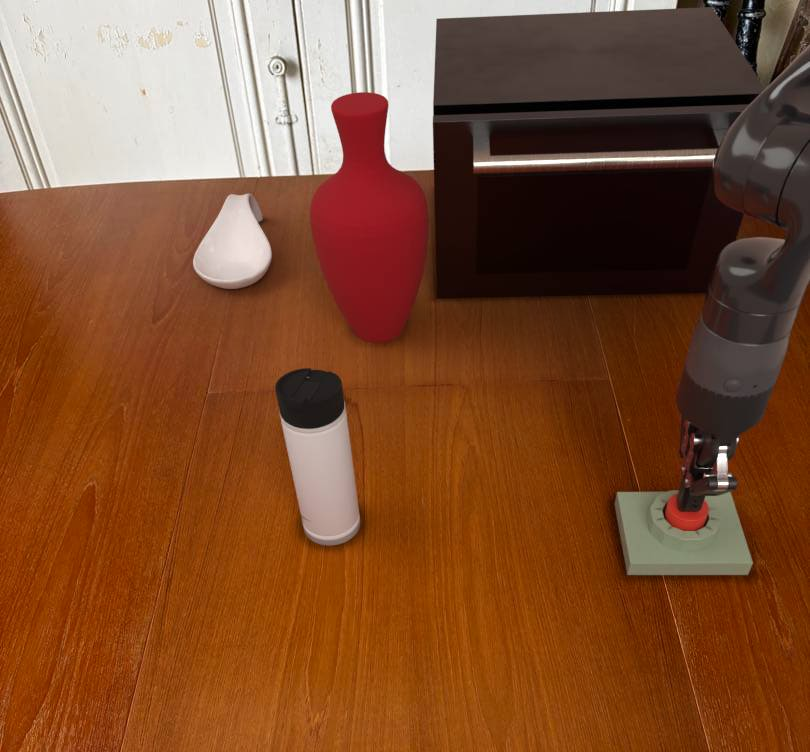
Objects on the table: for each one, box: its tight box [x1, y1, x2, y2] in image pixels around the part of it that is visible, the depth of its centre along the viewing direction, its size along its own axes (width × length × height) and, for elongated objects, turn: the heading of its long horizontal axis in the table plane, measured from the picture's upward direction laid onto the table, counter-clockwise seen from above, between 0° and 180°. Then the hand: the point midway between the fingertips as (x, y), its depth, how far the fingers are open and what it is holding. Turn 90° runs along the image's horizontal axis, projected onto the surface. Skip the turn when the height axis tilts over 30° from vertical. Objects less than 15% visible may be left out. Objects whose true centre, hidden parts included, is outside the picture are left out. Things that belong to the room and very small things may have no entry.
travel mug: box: [274, 367, 361, 547], centre depth 82 cm, size 6×7×20 cm
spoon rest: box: [192, 193, 273, 290], centre depth 125 cm, size 24×12×7 cm, turn 2°
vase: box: [309, 91, 430, 344], centre depth 102 cm, size 15×15×30 cm
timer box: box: [614, 489, 754, 576], centre depth 84 cm, size 12×10×4 cm
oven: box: [432, 6, 766, 116], centre depth 118 cm, size 32×40×26 cm
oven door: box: [432, 104, 749, 300], centre depth 105 cm, size 7×40×26 cm, turn 88°
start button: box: [665, 493, 709, 531], centre depth 83 cm, size 4×4×2 cm
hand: (687, 506), depth 82 cm, fingers closed
